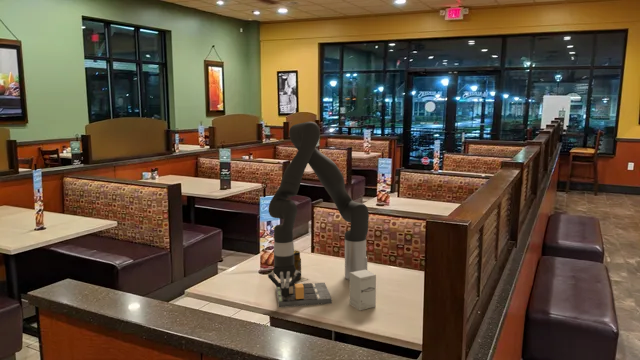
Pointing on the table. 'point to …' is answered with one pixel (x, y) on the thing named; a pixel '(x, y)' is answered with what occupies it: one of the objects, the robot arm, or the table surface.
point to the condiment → (297, 265)
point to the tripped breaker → (299, 291)
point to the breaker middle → (289, 287)
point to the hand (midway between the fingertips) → (285, 296)
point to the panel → (306, 296)
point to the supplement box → (362, 289)
